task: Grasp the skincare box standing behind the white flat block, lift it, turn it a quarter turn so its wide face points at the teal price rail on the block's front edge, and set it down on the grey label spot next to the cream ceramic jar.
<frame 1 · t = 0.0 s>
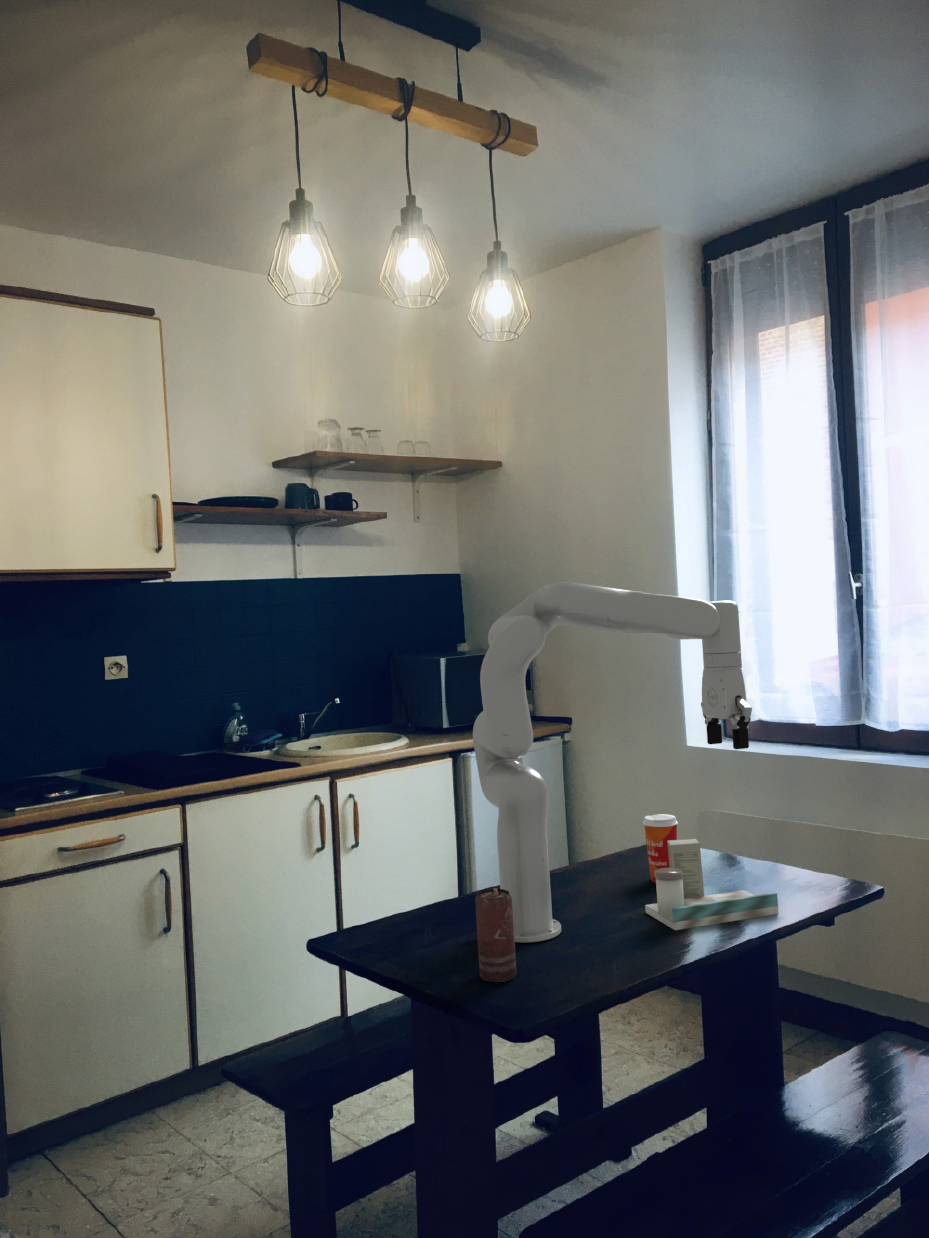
hand: (727, 746, 190), 31 cm above the table, fingers open, 9 cm apart
can: (498, 977, 156), on the table
paper cup: (664, 881, 207), on the table
cream jar: (671, 913, 179), point 1 cm above the table, touching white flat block
skincare box: (687, 902, 191), on the table
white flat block: (711, 913, 182), on the table
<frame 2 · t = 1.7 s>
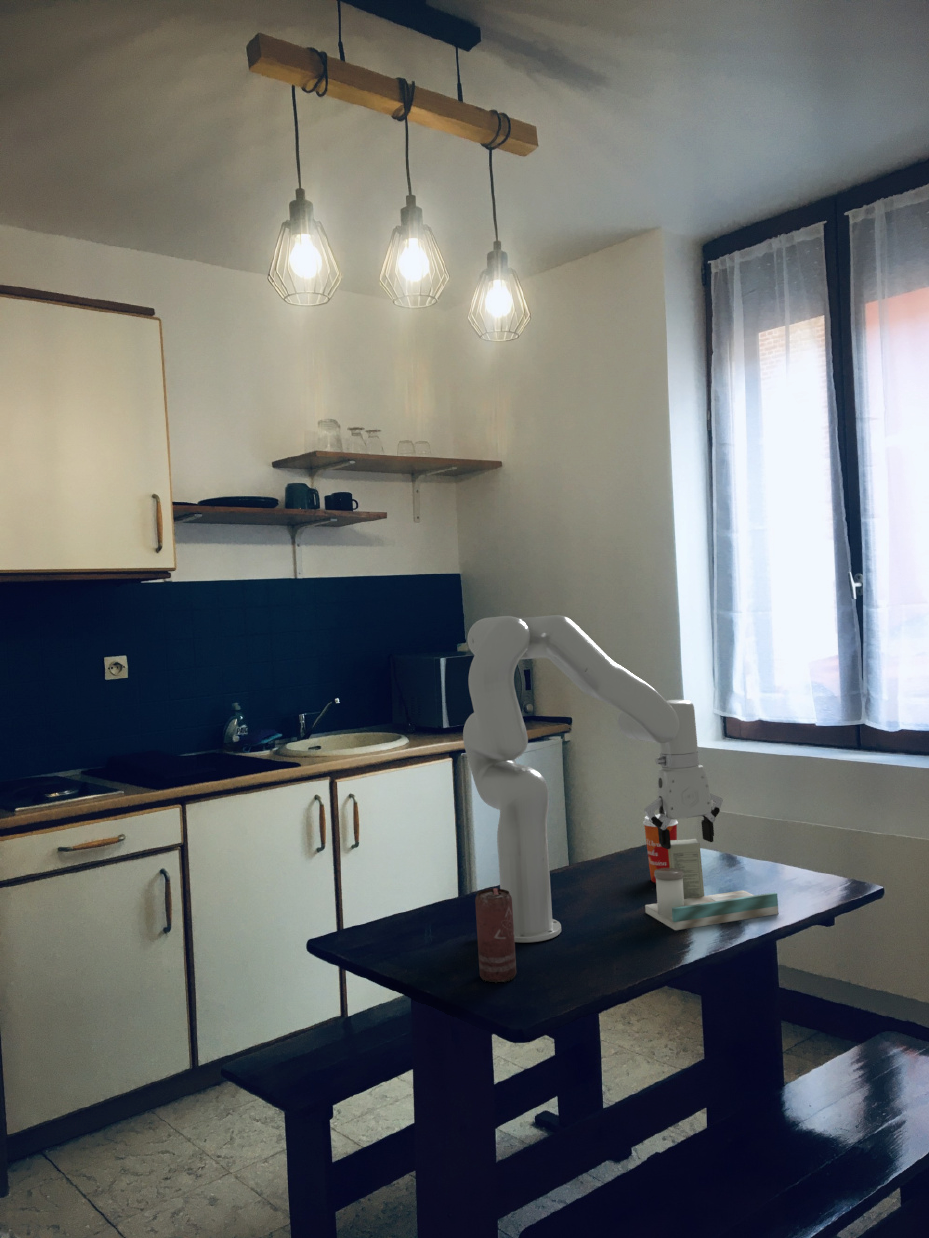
hand: (687, 844, 191), 11 cm above the table, fingers open, 9 cm apart
nothing on the table moved.
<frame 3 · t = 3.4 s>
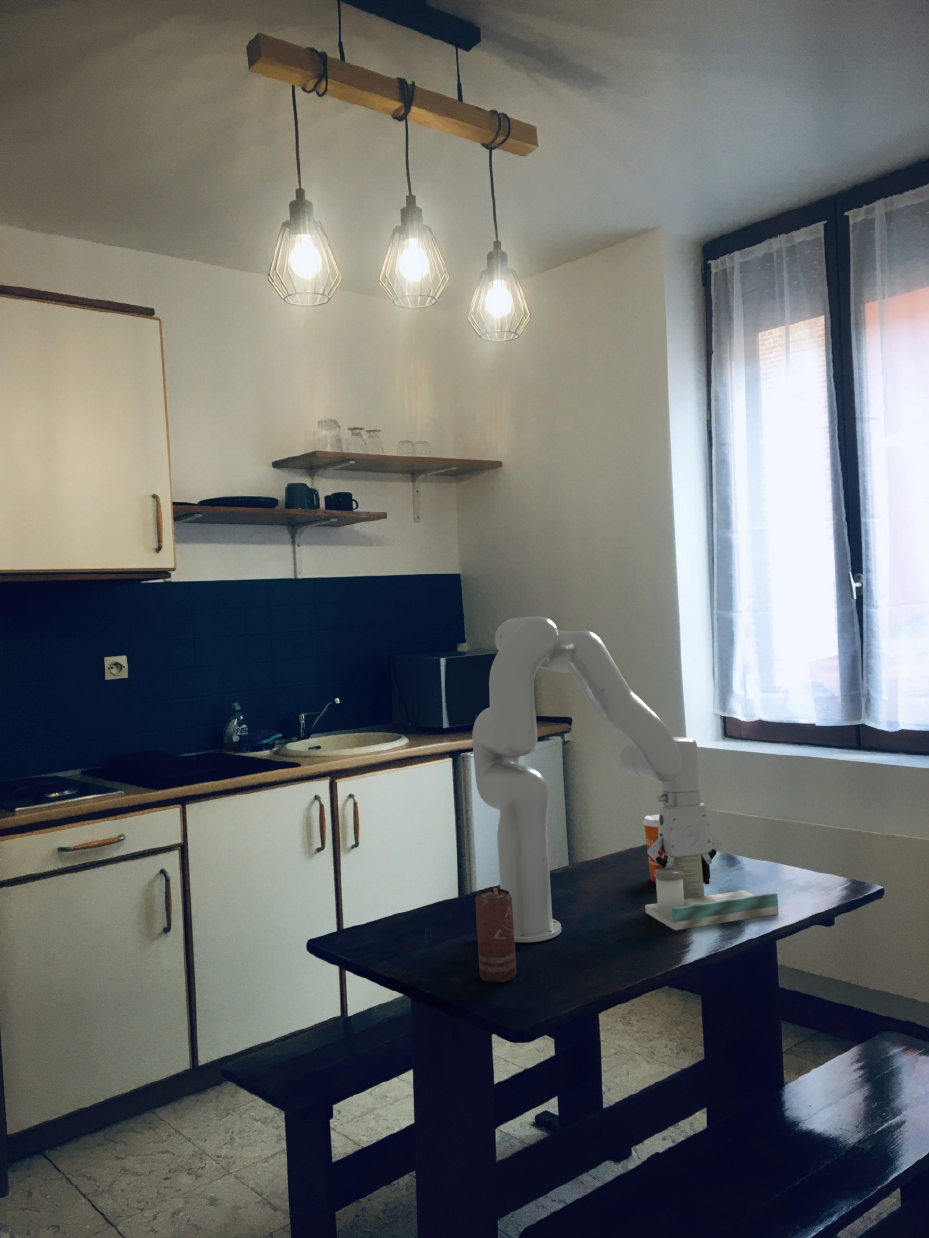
hand: (687, 884, 191), 3 cm above the table, fingers closed on skincare box, 7 cm apart
skincare box: (687, 901, 191), on the table, touching gripper
everything else where it was.
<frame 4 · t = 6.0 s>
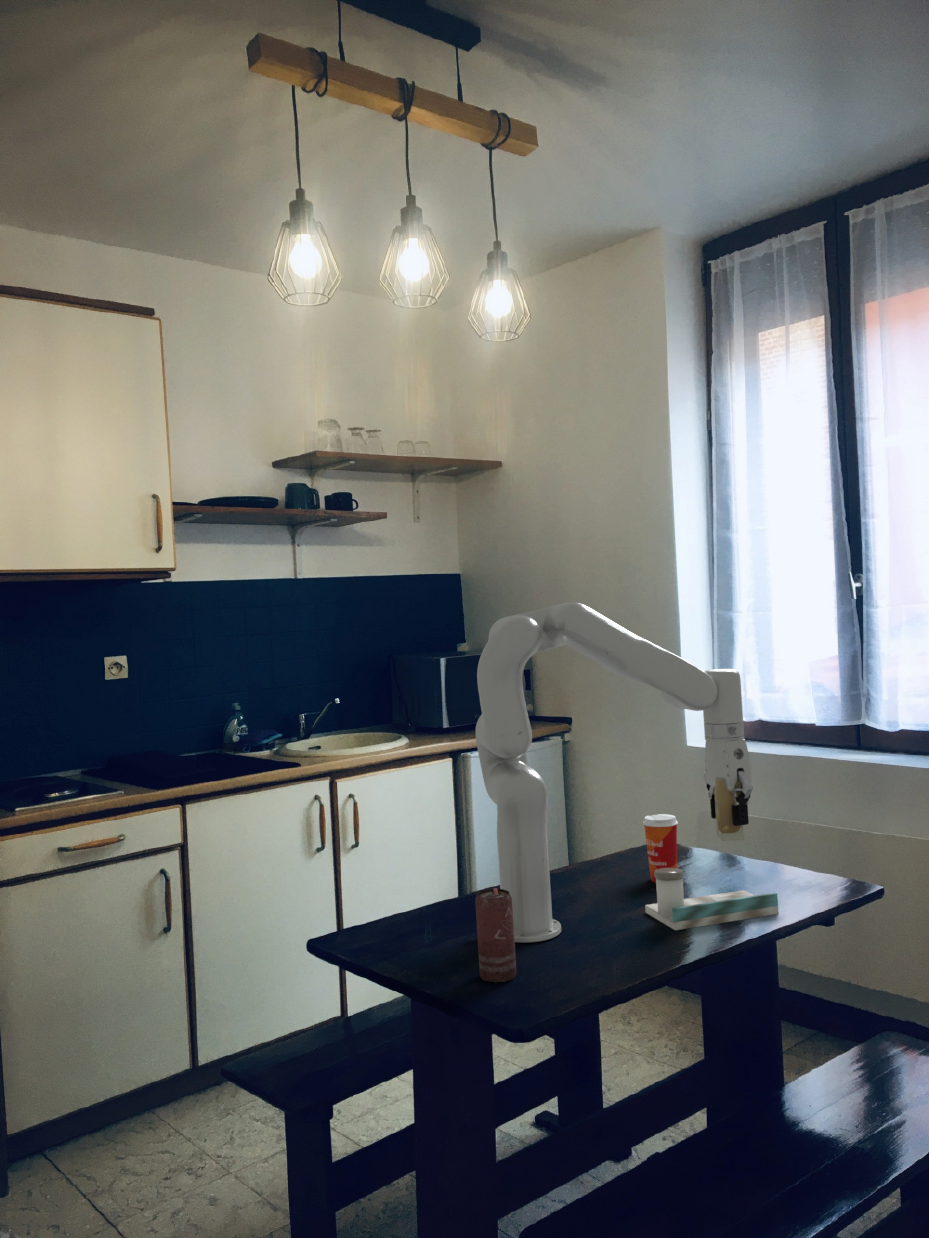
hand: (729, 820, 185), 17 cm above the table, fingers closed on skincare box, 7 cm apart
skincare box: (730, 838, 185), point 14 cm above the table, touching gripper
everything else where it was.
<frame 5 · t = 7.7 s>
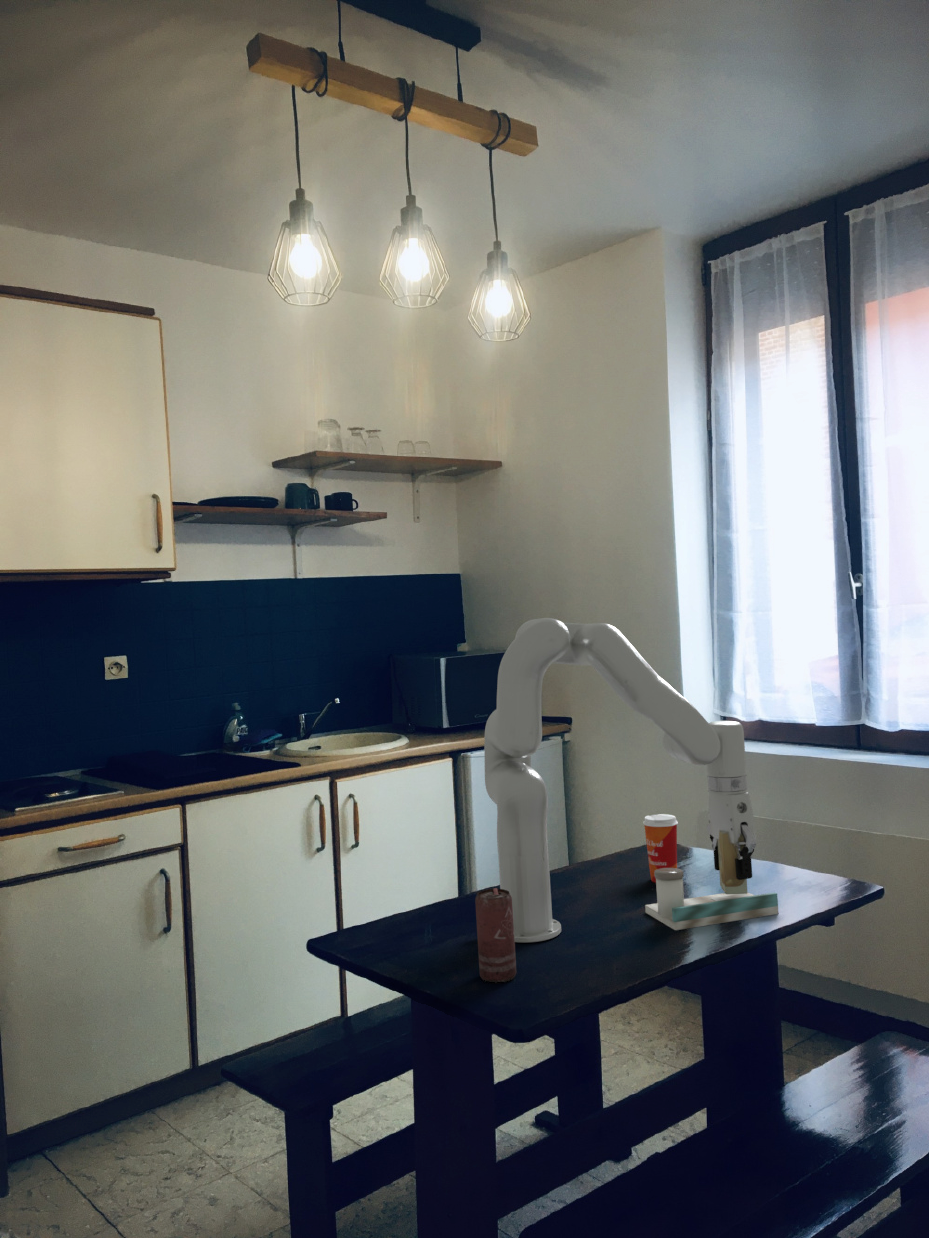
hand: (733, 873, 185), 7 cm above the table, fingers closed on skincare box, 7 cm apart
skincare box: (733, 891, 185), point 3 cm above the table, touching gripper
everything else where it was.
when the fingers open (6 cm above the table, at t = 8.9 s): skincare box stays where it is, resting on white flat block.
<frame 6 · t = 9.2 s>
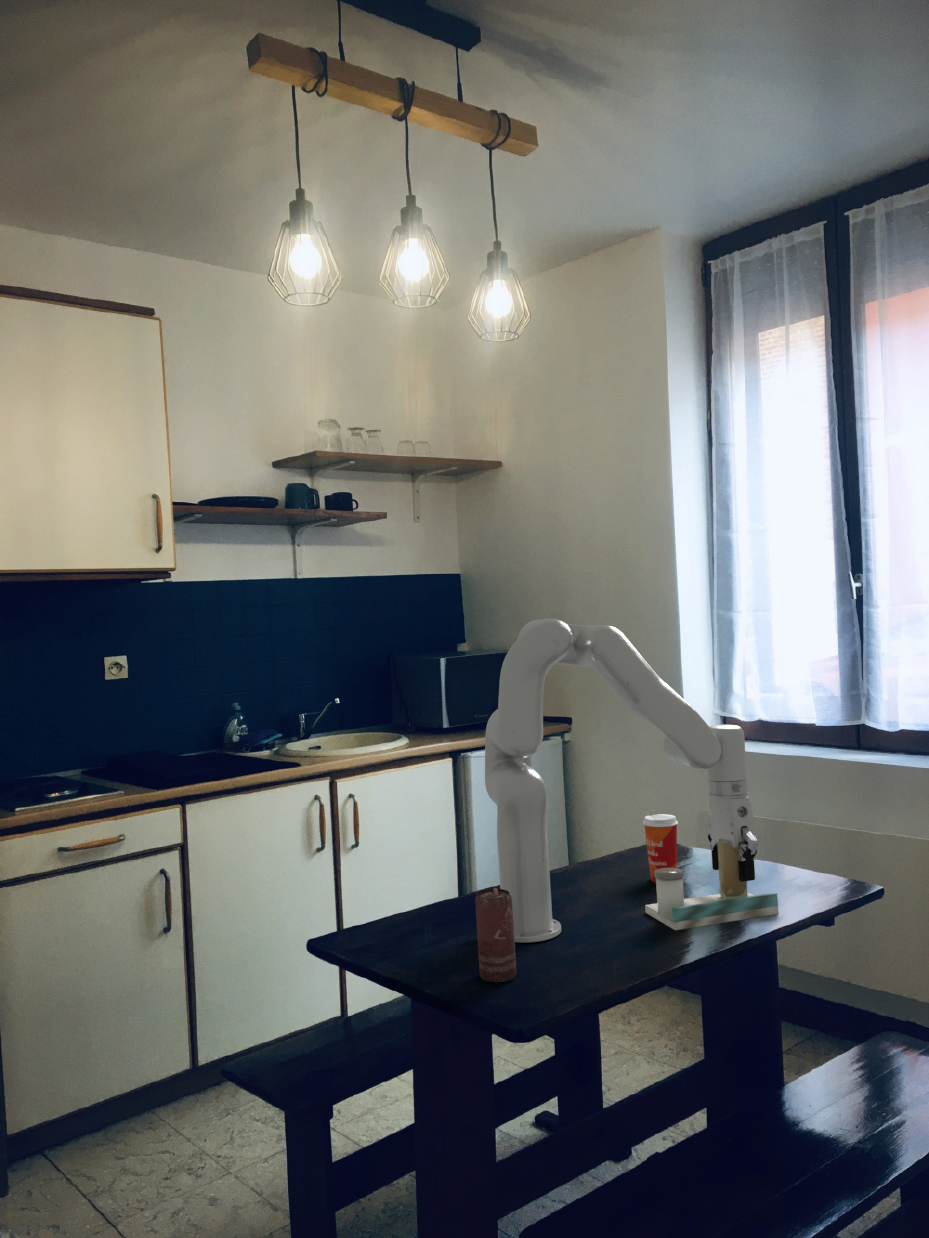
hand: (733, 874, 185), 6 cm above the table, fingers open, 9 cm apart
skincare box: (734, 900, 185), point 1 cm above the table, touching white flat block
everything else where it was.
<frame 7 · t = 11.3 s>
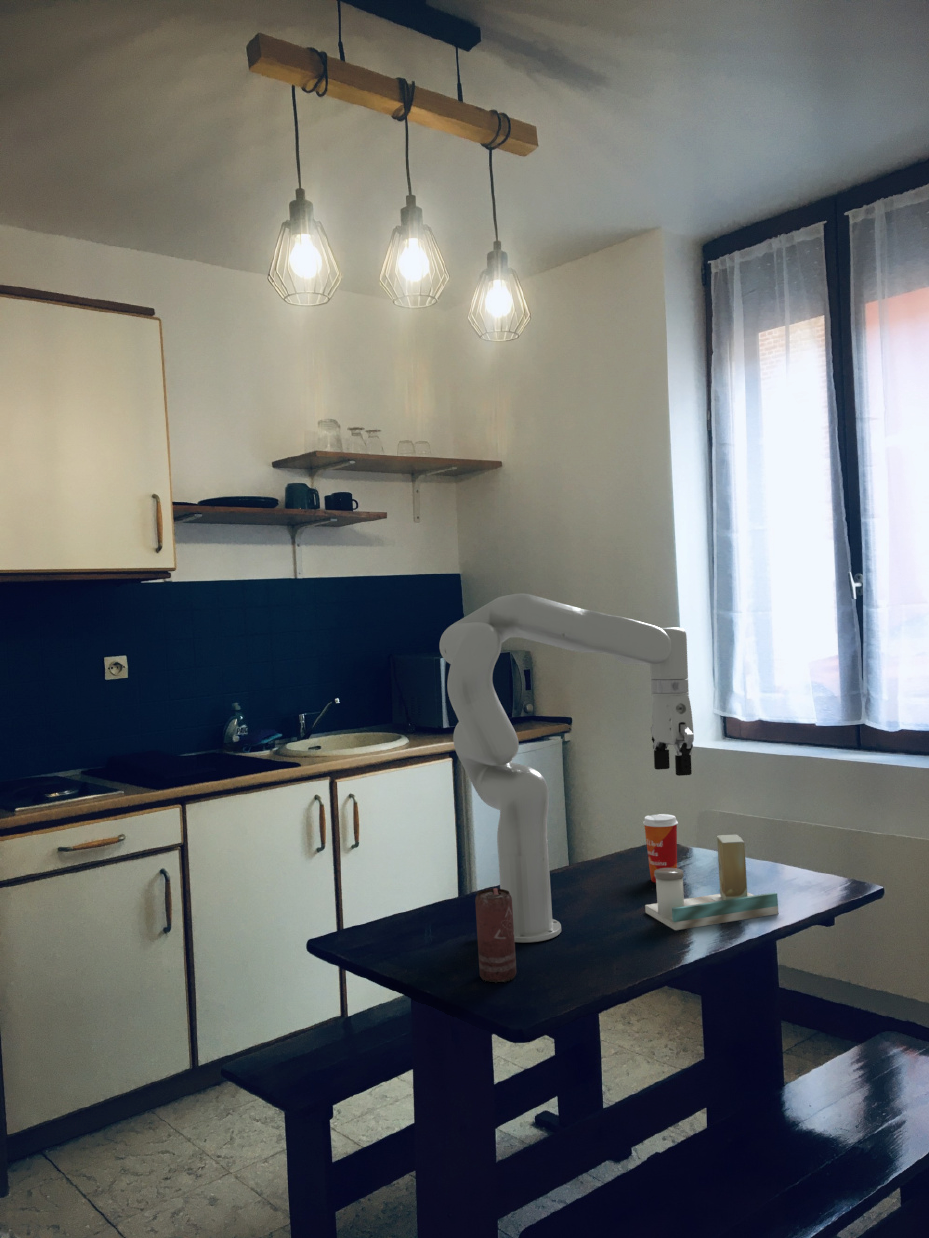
hand: (672, 771, 191), 26 cm above the table, fingers open, 9 cm apart
nothing on the table moved.
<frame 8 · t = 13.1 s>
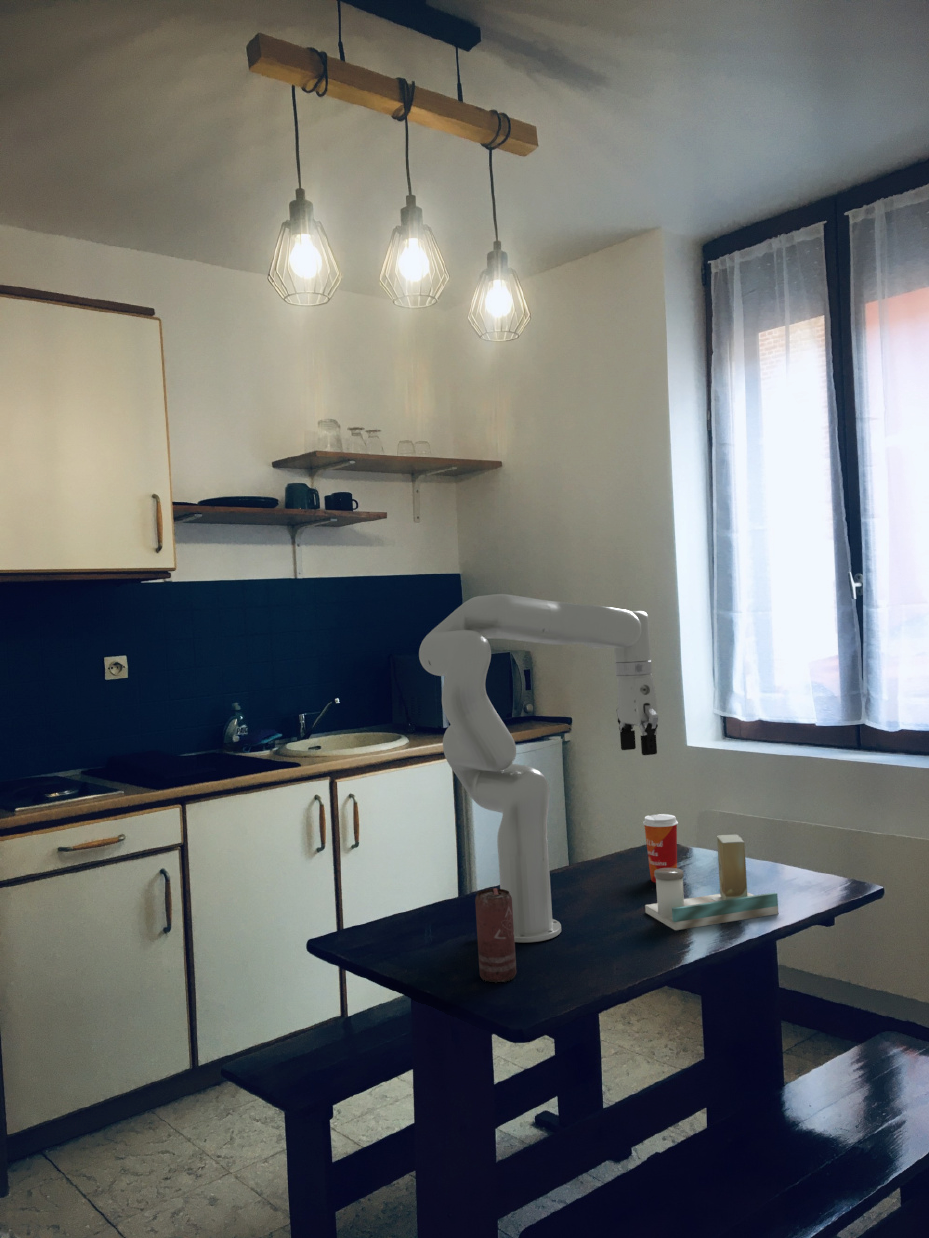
hand: (638, 752, 196), 30 cm above the table, fingers open, 9 cm apart
nothing on the table moved.
at the end: skincare box inside the target area on the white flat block (0.4 cm from its centre), point 1.4 cm above the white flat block's base; skincare box tilted 0°; the gripper is holding nothing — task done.
